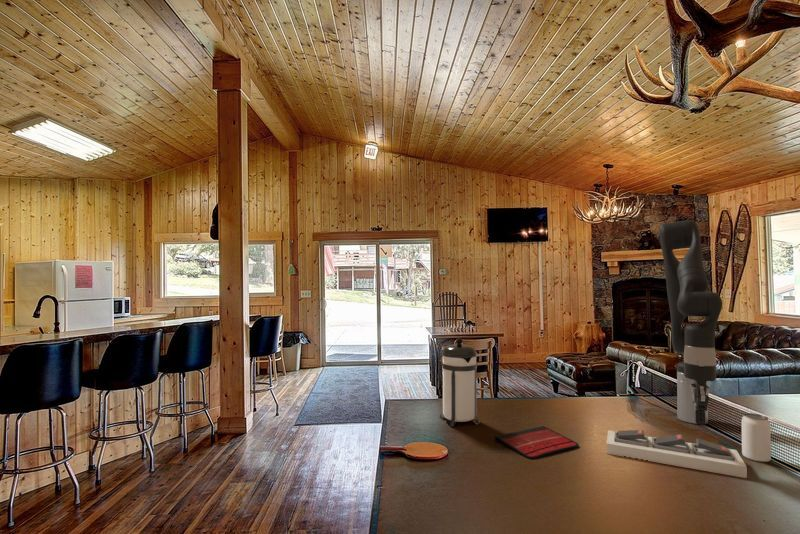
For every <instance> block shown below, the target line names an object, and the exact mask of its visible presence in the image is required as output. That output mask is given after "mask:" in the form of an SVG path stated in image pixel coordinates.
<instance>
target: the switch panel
mask: <svg viewBox="0 0 800 534" xmlns="http://www.w3.org/2000/svg"><path fill="white" fill-rule="evenodd" d="M656 438H657V437H655V436H654V437H653V436H647V435H645V439H619V438H618V431H614V430H609V429H608V430H607V437H606V454H608V455H613V456H620V457H624V456H626V457H625V458H629V457H631V458H630V459H635V458H638V459H637V460H641V459H643V460H642V461H646V460H648V462H651V463H652V462H654V463H659V464H665V465H669V466H676V467H679V468H680V467H681V468H687V469H692V470H698V471H704V472H709V473H715V474H721V475H727V476H733V477H738V478H743V479H747V478H748V474H747V473H748V470H747V467H748V466H747V465H746V463H745V462H744V460H743V459H742V456H740V453H739V452H738V450H737V449H733V448H727V450H728V451H729V456H723V455H720V454H717V453H714V452H711V451H708V450H705V449H702V448H699V447H698V446H697V444H696V443H692V442H686V441H685V444H679V445H672V446H661V445H657V442H656Z"/></svg>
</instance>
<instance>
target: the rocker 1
mask: <svg viewBox="0 0 800 534" xmlns="http://www.w3.org/2000/svg"><path fill="white" fill-rule="evenodd" d="M644 431H645V430H644V429H633V430H632V429H630V430H618V431H617V432H618V438H619V439H645V436H646V435H645V432H644Z"/></svg>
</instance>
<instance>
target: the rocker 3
mask: <svg viewBox="0 0 800 534" xmlns="http://www.w3.org/2000/svg"><path fill="white" fill-rule="evenodd" d="M695 444H697V446H698V447H699V448H702V449H705V450H708V451H711V452H714V453H717V454H720V455H723V456H729V451H728V450H727V449H728V448H727V447H726V446H723V445H721V444H717V443H715V442H711V441H708V440H705V439H701V438H699V437H696V439H695Z"/></svg>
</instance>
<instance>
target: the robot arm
mask: <svg viewBox="0 0 800 534" xmlns="http://www.w3.org/2000/svg"><path fill="white" fill-rule="evenodd" d="M658 234H659V237H658V238H659V242H660V247H661V252H662V258H663V259H662V260H663V262H664V270H665V272H664V273H665V281H666V282H665V283H666V284H665V285H666V293H667V301H668V306H669V312H670V313H669V314H670V322H671V323H670V329H671V330H670V331H671V333H670V334H671V345H672V348H673V350H674V351H675V352H676V353H680V354H683V361H682V362H678V363H677V365H676V387H677V388H676V389H677V390H676V391H677V392H676V394H677V395H676V396H677V397H676V398H677V399H676V400H677V402H676V403H677V406H676V407H677V412H676V413H677V416H676V417H677V419H679V420H680V421H682V422H686V423H690V424H696V425H702V426H703V425H705V424H708V423H709V399H710V396H709V394H710V387H709V386H708V385H709V384H708V382H715V381H716V379H717V354H716V345H715V344H716V342H715V341H716V340H715V339H716V338H715V337H716V334H715V333H716V329H717V324H718V320H719V317H720V315H721V313H722V309H723V304H724V303H723V300H722V298H721V296H720V295H719V294H718V293H717V292H714V291H707V290H708V289H709V281H708V278H707V275H706V269H705V267H704V261H703V249H702V242H701V234H700V230H699V227H698V224H697V222H695V220H692V219H690V220H689V219H687V220H679V221H673V222H666V223H663V224H660V226H659V231H658ZM682 249H688V251H687V252H686V254H685V255H684V257H682V259H681V261H679V260H678V258H677V257H676V255H675V254H674V252H673V251H674V250H675V251H676V250H682ZM687 317H704V320H702V321H701V322H700V323H692V324H689V325H686V326H685V327H683V323H684V321H685V319H686V318H687Z"/></svg>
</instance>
